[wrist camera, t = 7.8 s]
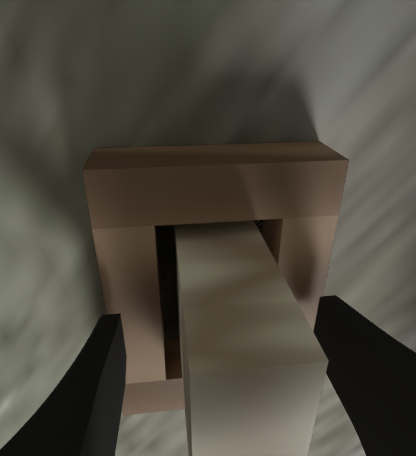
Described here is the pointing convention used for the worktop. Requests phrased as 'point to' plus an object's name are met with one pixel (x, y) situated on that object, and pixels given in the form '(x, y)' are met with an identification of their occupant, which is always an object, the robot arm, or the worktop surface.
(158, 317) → the holder
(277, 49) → the worktop surface
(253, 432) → the peg
